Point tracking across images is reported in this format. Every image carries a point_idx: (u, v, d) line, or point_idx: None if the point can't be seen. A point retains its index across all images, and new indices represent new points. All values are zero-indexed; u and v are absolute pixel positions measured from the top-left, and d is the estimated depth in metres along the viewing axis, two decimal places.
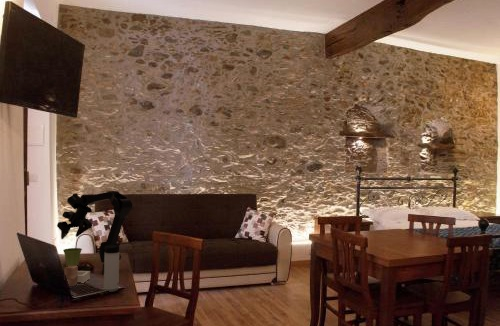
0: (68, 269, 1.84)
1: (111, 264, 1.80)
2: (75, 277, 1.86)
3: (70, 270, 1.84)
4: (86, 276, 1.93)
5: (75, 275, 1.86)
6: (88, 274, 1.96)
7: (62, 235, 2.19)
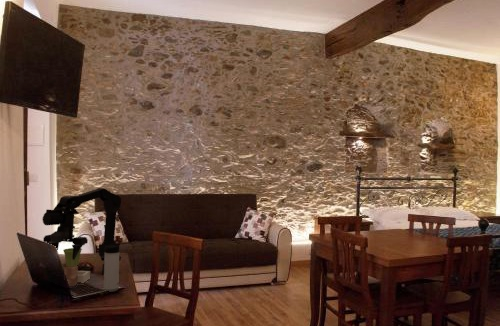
0: (68, 269, 1.84)
1: (111, 264, 1.80)
2: (75, 277, 1.86)
3: (70, 270, 1.84)
4: (86, 276, 1.93)
5: (75, 275, 1.86)
6: (88, 274, 1.96)
7: (76, 253, 1.87)
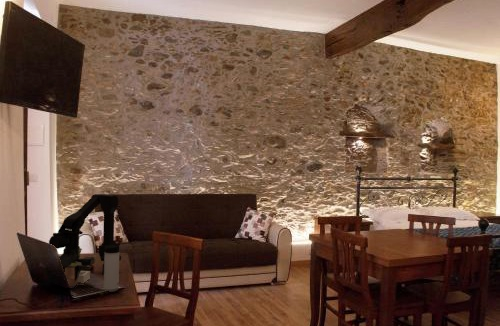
0: (68, 269, 1.84)
1: (111, 264, 1.80)
2: None
3: (70, 270, 1.84)
4: (86, 276, 1.93)
5: None
6: (88, 274, 1.96)
7: (78, 274, 1.87)
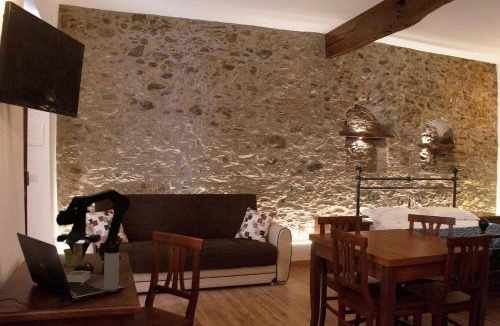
0: (76, 246, 1.92)
1: (111, 264, 1.80)
2: None
3: (78, 247, 1.92)
4: (86, 276, 1.93)
5: None
6: (88, 274, 1.96)
7: (85, 251, 1.95)
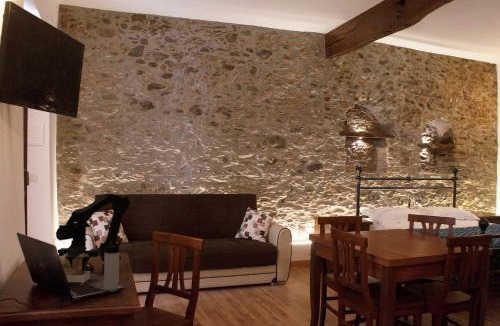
0: (76, 260, 1.92)
1: (111, 264, 1.80)
2: None
3: (78, 261, 1.92)
4: (86, 276, 1.93)
5: None
6: (88, 274, 1.96)
7: (85, 265, 1.95)
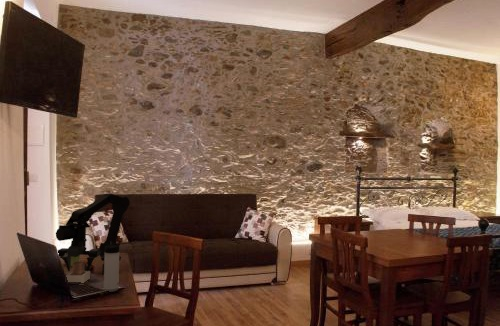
0: (75, 265, 1.92)
1: (111, 264, 1.80)
2: (82, 272, 1.94)
3: (78, 266, 1.92)
4: (86, 276, 1.93)
5: (82, 270, 1.94)
6: (88, 274, 1.96)
7: (90, 265, 1.95)
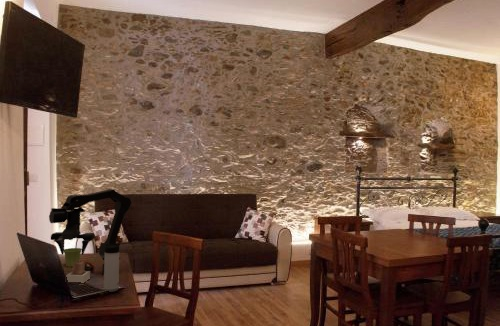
0: (75, 265, 1.92)
1: (111, 264, 1.80)
2: (82, 272, 1.94)
3: (78, 266, 1.92)
4: (86, 276, 1.93)
5: (82, 270, 1.94)
6: (88, 274, 1.96)
7: (84, 249, 1.98)
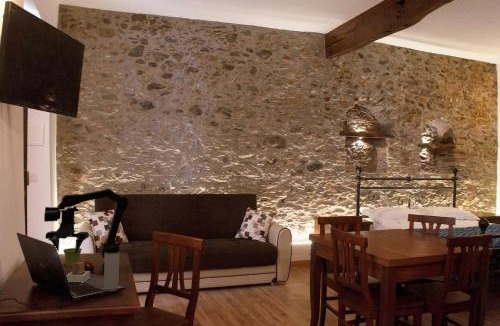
0: (75, 265, 1.92)
1: (111, 264, 1.80)
2: (82, 272, 1.94)
3: (78, 266, 1.92)
4: (86, 276, 1.93)
5: (82, 270, 1.94)
6: (88, 274, 1.96)
7: (79, 247, 2.00)
